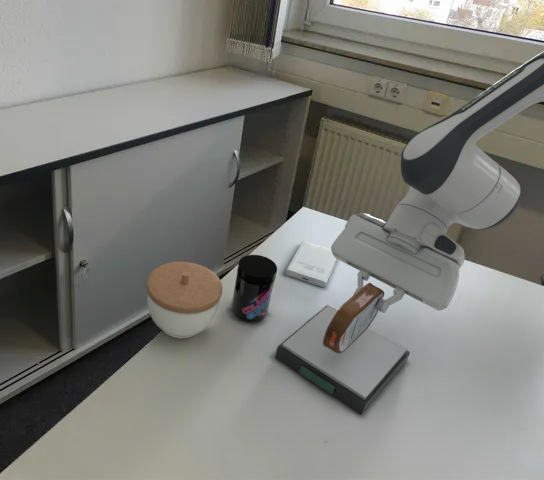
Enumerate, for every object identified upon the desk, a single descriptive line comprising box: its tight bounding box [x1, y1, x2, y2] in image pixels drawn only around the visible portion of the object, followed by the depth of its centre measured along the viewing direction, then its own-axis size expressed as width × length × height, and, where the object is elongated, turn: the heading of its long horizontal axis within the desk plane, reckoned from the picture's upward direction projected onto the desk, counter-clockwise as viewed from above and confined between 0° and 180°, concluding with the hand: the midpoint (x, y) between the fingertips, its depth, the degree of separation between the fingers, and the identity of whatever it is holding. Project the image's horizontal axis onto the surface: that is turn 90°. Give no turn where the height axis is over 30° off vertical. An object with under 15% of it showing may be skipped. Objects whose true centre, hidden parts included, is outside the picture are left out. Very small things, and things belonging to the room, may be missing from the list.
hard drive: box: [285, 240, 338, 288], centre depth 113 cm, size 2×8×12 cm
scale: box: [274, 304, 411, 415], centre depth 90 cm, size 16×16×3 cm
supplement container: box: [230, 254, 278, 323], centre depth 96 cm, size 7×7×10 cm
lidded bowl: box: [146, 261, 223, 340], centre depth 92 cm, size 13×13×11 cm
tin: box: [323, 282, 385, 354], centre depth 86 cm, size 15×3×8 cm, turn 137°
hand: (368, 304), depth 88 cm, fingers closed on tin, 2 cm apart
